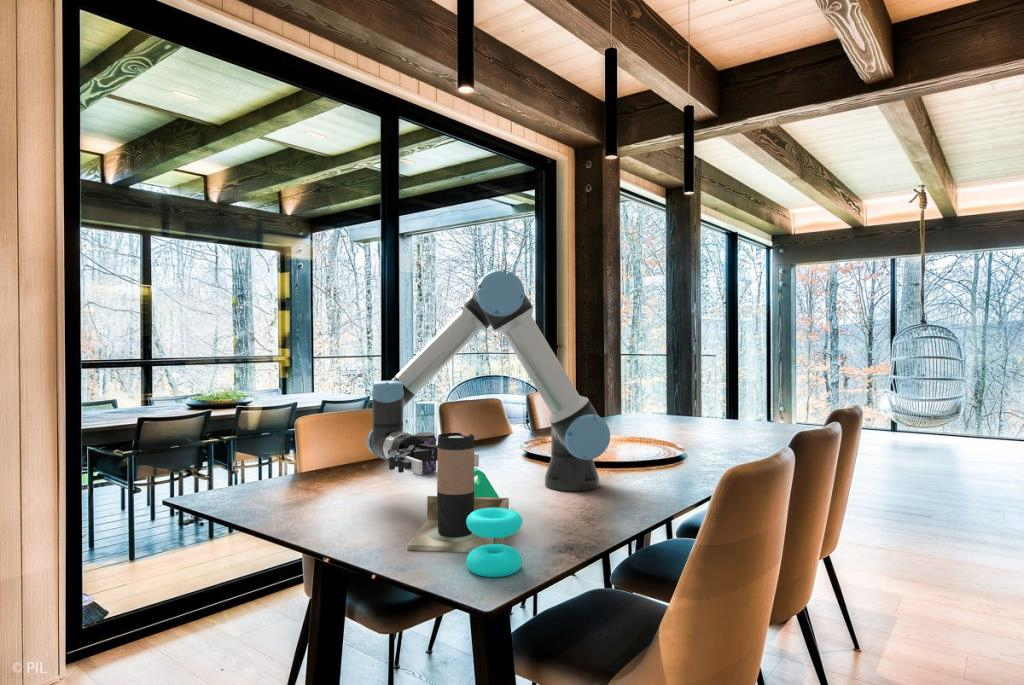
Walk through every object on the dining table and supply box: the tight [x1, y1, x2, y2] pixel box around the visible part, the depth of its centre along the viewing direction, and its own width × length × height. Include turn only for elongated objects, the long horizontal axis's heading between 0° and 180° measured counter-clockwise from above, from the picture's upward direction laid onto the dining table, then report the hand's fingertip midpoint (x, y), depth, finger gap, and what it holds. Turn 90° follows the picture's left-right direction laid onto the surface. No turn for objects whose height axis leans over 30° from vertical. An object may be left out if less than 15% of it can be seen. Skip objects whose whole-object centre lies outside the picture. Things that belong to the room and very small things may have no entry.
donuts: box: [465, 508, 523, 578], centre depth 110 cm, size 10×10×10 cm
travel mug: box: [436, 432, 475, 538], centre depth 127 cm, size 8×8×20 cm
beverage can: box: [414, 431, 437, 475], centre depth 190 cm, size 7×7×12 cm
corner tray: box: [406, 495, 510, 553], centre depth 128 cm, size 18×18×6 cm
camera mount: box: [474, 467, 500, 498], centre depth 149 cm, size 12×8×10 cm, turn 111°
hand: (450, 464), depth 129 cm, fingers open, 13 cm apart
